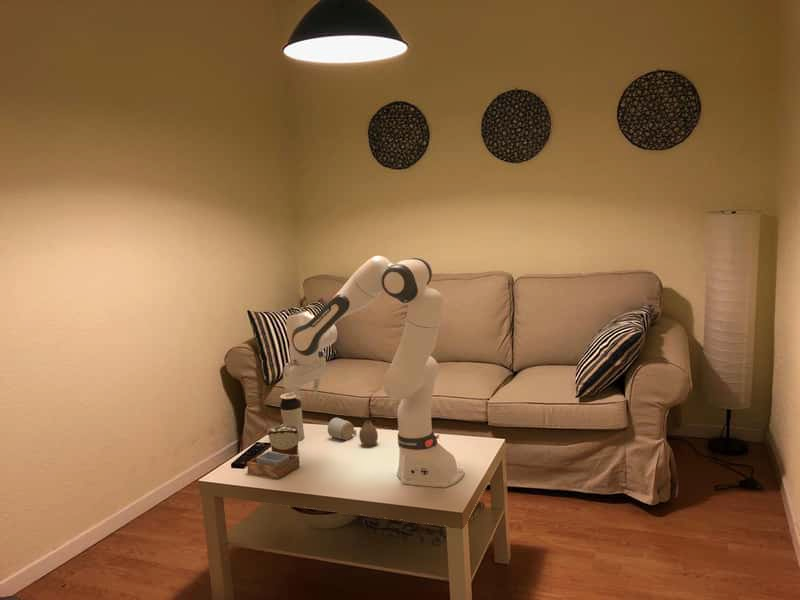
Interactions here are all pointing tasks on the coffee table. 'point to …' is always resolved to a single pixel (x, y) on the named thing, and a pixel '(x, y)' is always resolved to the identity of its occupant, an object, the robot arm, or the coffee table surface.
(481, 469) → the coffee table surface
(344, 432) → the ceramic mug
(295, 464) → the big crate
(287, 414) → the travel mug
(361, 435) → the vase
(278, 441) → the food container
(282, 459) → the small crate
